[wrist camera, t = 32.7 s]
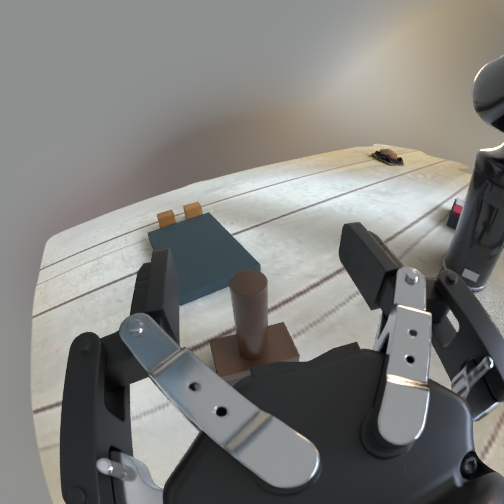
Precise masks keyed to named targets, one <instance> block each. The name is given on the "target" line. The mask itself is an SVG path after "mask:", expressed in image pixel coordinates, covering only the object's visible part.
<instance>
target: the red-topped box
mask: <svg viewBox="0 0 504 504" xmlns="http://www.w3.org/2000/svg"><path fill="white" fill-rule="evenodd" d="M464 202H465V201H464V200H461V199H459V198H457V199H455V201H454V204H453V207H452V209H451V211H450V215H449V218H448V222H447V225H448V226H450V227H452V228H455V229H456V227H457V224H458V221H459V218H460V215H461V212H462V209H463V205H464Z"/></svg>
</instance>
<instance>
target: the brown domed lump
mask: <svg viewBox="0 0 504 504" xmlns="http://www.w3.org/2000/svg"><path fill="white" fill-rule="evenodd" d="M371 155H373V156H375V157H376V158H378V159H379V160H381V161H382V162H384V163H386V164H388V165H404V163H403V160H402V158H401V157H400V158H399V157H398V156H397V154H396V153H395V152H394V151H392V150H390V149H382V150H380V152H379V151H376V152H375V153H372V154H371ZM401 160H402V161H401Z"/></svg>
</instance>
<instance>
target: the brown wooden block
mask: <svg viewBox="0 0 504 504" xmlns="http://www.w3.org/2000/svg"><path fill="white" fill-rule="evenodd" d="M183 208H184V213H185V218H186V220H187V219H190V218H193V217H196V216H199V215H202V208H201V205H200V204H199V202H195V203H192V204H188V205H185V206H183Z"/></svg>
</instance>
